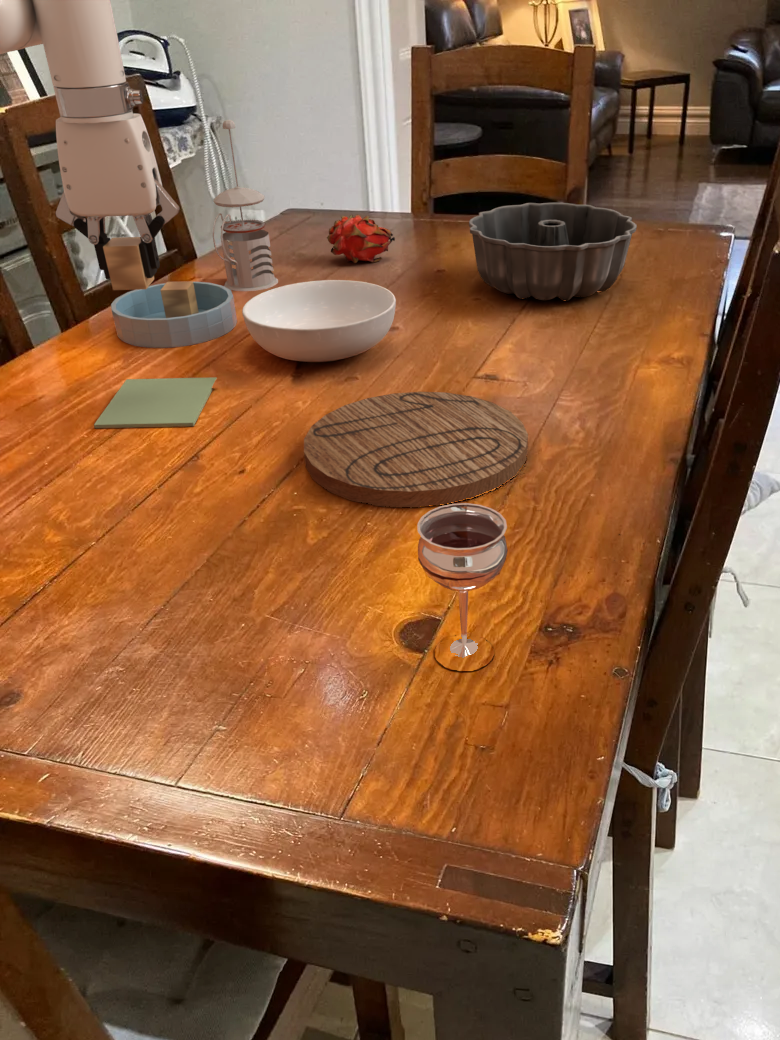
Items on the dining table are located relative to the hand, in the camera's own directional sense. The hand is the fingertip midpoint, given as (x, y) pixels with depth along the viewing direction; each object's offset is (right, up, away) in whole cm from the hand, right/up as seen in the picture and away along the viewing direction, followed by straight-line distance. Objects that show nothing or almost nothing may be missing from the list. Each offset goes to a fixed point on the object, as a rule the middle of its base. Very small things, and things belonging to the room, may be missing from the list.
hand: (131, 273), depth 111 cm
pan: (-3, +2, +29) cm, 29 cm away
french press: (+4, +13, +45) cm, 47 cm away
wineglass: (+39, -43, -35) cm, 68 cm away
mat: (+1, -14, +7) cm, 16 cm away
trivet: (+34, -22, -6) cm, 41 cm away
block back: (-3, +4, +31) cm, 31 cm away
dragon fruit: (+22, +22, +56) cm, 64 cm away
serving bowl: (+20, -4, +20) cm, 29 cm away
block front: (0, -1, +1) cm, 1 cm away
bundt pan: (+54, +12, +42) cm, 70 cm away
